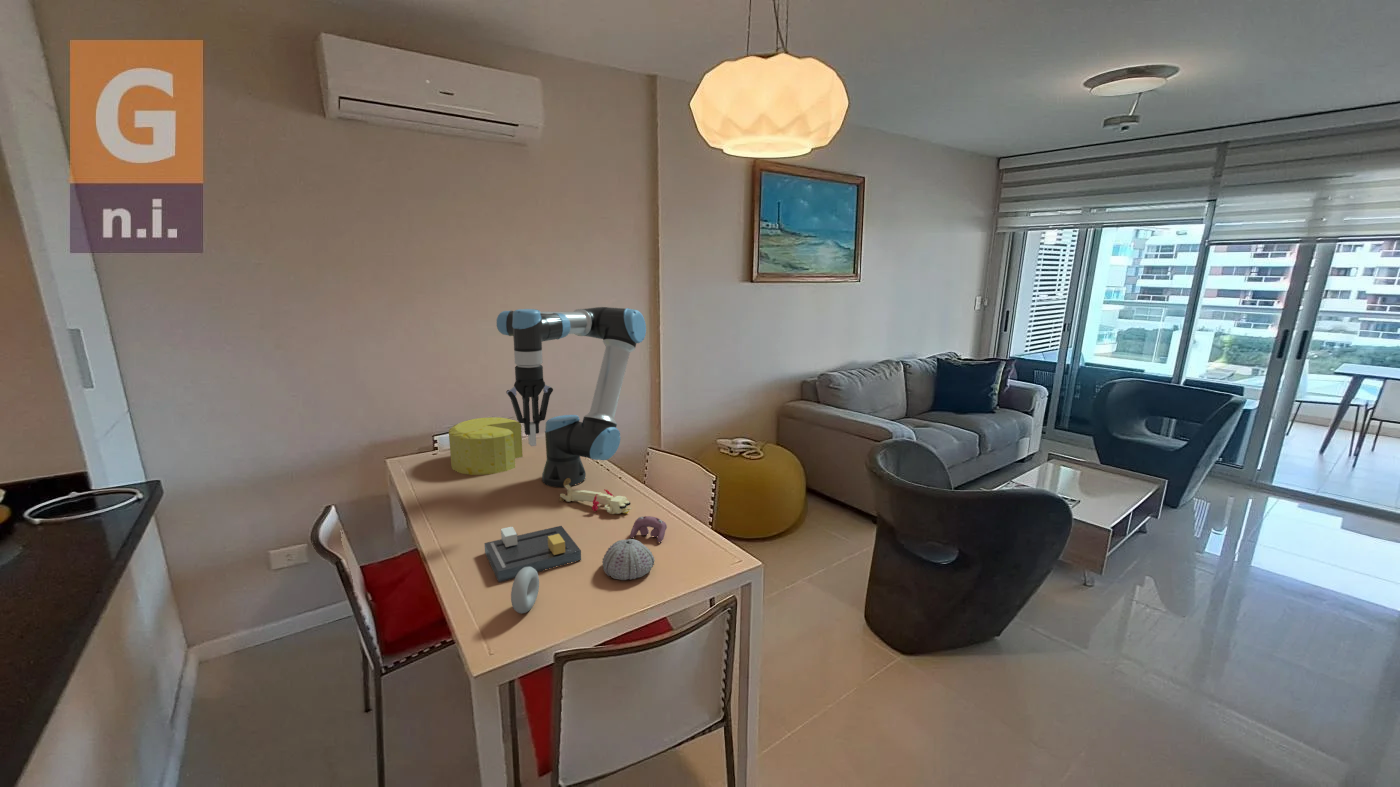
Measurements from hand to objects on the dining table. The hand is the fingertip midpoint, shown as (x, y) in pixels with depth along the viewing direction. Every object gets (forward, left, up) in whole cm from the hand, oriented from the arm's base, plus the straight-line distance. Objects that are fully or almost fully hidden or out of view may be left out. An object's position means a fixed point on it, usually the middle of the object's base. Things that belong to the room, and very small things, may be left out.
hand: (532, 444), depth 163 cm
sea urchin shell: (-13, +38, -25) cm, 47 cm away
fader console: (+6, +20, -24) cm, 32 cm away
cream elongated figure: (-20, -1, -25) cm, 32 cm away
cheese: (+2, -58, -25) cm, 63 cm away
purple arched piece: (-25, +25, -25) cm, 43 cm away
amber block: (+1, +25, -21) cm, 33 cm away
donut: (+14, +42, -25) cm, 51 cm away
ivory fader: (+11, +15, -21) cm, 28 cm away
